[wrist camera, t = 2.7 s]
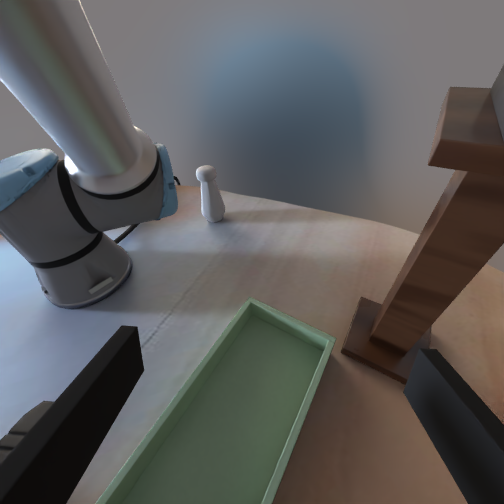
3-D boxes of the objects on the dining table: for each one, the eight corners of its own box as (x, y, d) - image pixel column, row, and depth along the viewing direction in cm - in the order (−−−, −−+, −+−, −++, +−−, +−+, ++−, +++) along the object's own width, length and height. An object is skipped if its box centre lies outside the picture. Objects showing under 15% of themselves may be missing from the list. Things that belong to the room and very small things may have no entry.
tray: (201, 684, 18) (187, 719, 15) (95, 533, 23) (69, 538, 20) (330, 352, 35) (336, 338, 32) (251, 311, 40) (249, 296, 38)
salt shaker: (204, 212, 63) (192, 163, 54) (226, 209, 63) (218, 161, 54) (203, 225, 59) (190, 175, 50) (226, 223, 59) (218, 172, 50)
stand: (417, 407, 29) (761, 175, 9) (336, 364, 34) (439, 138, 13) (428, 319, 38) (617, 92, 17) (362, 293, 42) (449, 86, 21)
